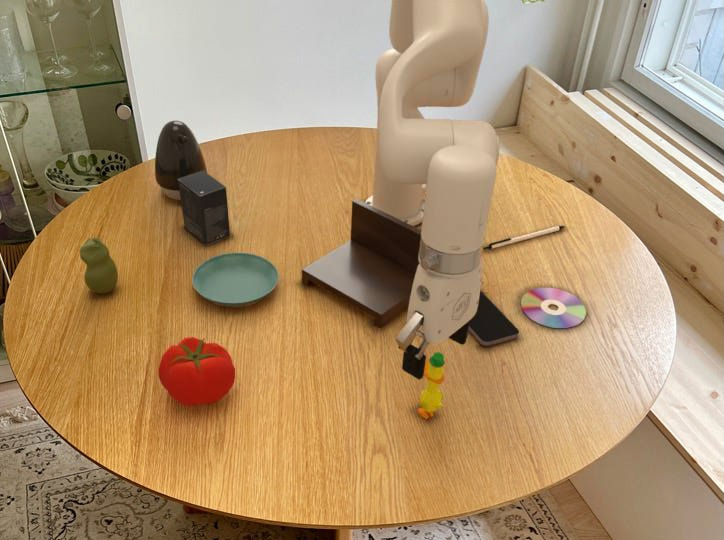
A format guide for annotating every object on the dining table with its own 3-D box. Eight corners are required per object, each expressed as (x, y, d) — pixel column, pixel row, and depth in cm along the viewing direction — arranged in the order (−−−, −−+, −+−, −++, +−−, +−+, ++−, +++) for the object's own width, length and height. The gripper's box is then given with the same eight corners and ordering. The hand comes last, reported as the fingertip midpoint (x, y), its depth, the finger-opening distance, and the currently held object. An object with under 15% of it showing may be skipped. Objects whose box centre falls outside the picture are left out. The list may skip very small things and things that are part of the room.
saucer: (295, 279, 133) (294, 267, 131) (248, 326, 123) (247, 313, 122) (225, 255, 138) (224, 242, 136) (176, 297, 128) (174, 285, 126)
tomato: (241, 413, 109) (236, 370, 103) (164, 423, 107) (155, 379, 101) (233, 364, 117) (229, 321, 111) (161, 373, 115) (153, 329, 109)
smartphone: (475, 283, 133) (522, 333, 122) (474, 289, 133) (521, 338, 123) (438, 292, 130) (483, 343, 120) (438, 298, 131) (482, 349, 121)
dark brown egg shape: (169, 212, 147) (158, 139, 137) (151, 187, 154) (139, 116, 143) (217, 199, 151) (210, 128, 140) (198, 176, 157) (189, 106, 147)
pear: (109, 302, 127) (97, 253, 120) (81, 296, 128) (68, 246, 121) (126, 283, 130) (115, 234, 123) (98, 277, 131) (86, 228, 124)
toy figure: (402, 403, 112) (409, 342, 103) (421, 394, 113) (429, 333, 105) (429, 431, 108) (439, 371, 100) (449, 422, 109) (460, 361, 101)
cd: (555, 280, 135) (555, 280, 135) (600, 315, 128) (600, 315, 128) (507, 299, 130) (507, 299, 130) (551, 336, 124) (551, 336, 124)
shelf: (354, 250, 140) (356, 198, 132) (431, 291, 132) (438, 238, 124) (301, 283, 132) (301, 229, 124) (380, 329, 124) (384, 274, 116)
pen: (482, 249, 142) (483, 244, 141) (563, 227, 148) (564, 222, 147) (485, 251, 141) (485, 246, 140) (566, 229, 147) (567, 224, 147)
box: (231, 236, 142) (226, 186, 134) (205, 246, 139) (199, 196, 132) (209, 218, 146) (203, 168, 139) (183, 228, 143) (176, 177, 136)
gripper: (432, 294, 84) (417, 402, 96) (515, 234, 94) (492, 339, 106) (380, 267, 88) (372, 374, 99) (466, 212, 97) (449, 316, 109)
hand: (434, 356), depth 102 cm, fingers open, 9 cm apart
